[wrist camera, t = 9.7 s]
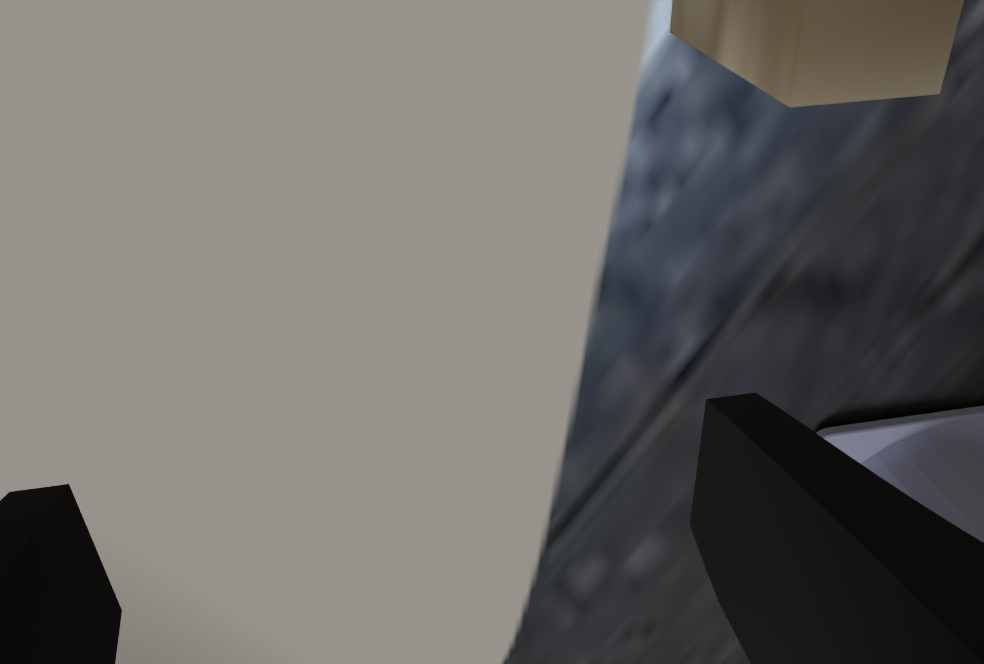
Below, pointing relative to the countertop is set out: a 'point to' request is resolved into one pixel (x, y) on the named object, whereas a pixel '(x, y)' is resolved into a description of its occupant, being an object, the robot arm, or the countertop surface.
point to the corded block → (825, 45)
